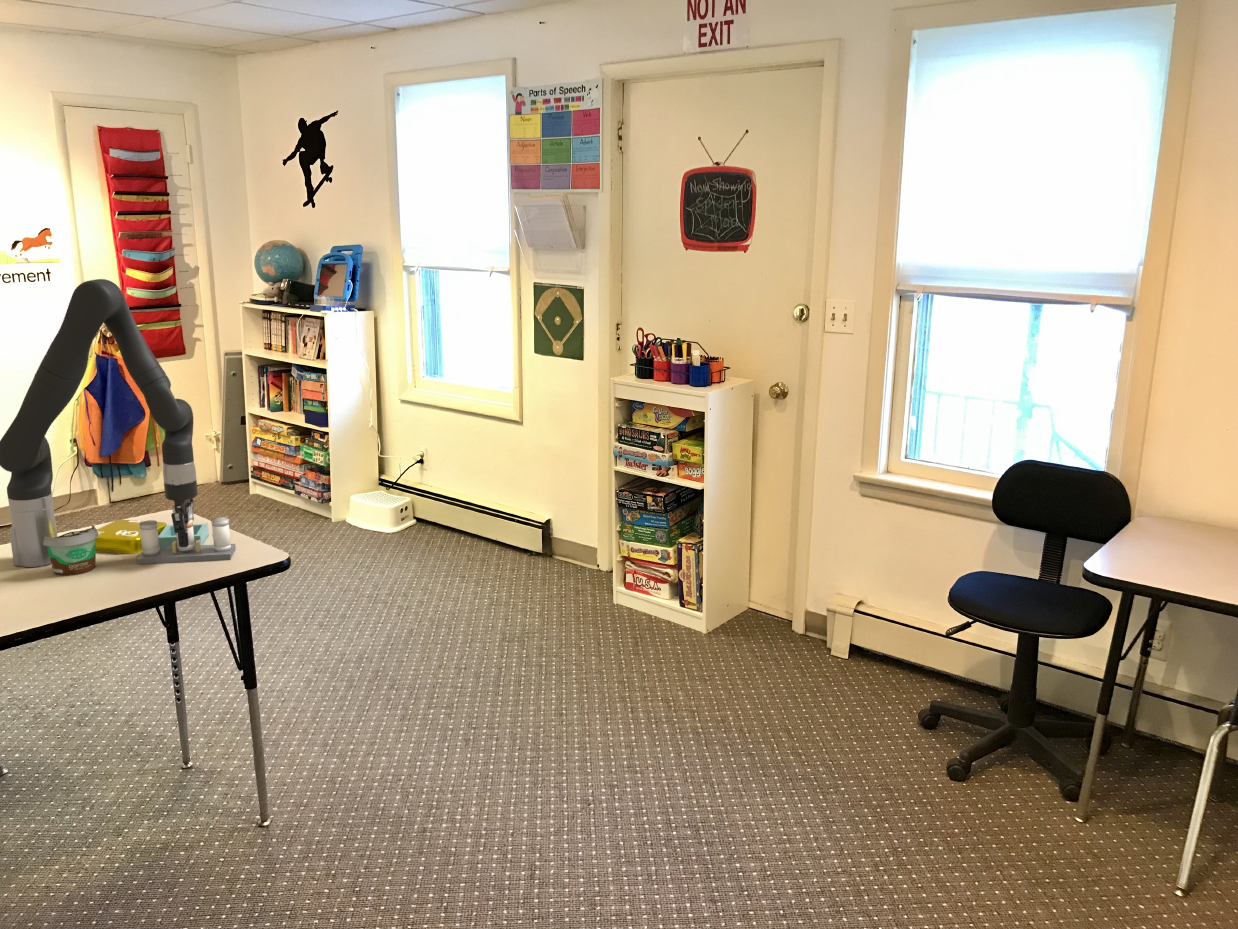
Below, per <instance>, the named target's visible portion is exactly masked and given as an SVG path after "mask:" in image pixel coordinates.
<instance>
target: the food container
mask: <svg viewBox="0 0 1238 929" xmlns="http://www.w3.org/2000/svg"><path fill="white" fill-rule="evenodd" d="M57 536H58V535H57ZM97 537H98V532H97V528H96V527H95V525H94V524H91V527H90V528H87V529H84V530H79V531H78V530H77V531H70V532H67V533H64V534H62V535H59V536H58V537H55V538H52V537H46V536H45V539H44V543H43V545H45V546H47V549H48V553H49V557H50V561H51V564H50V565H51V568H52V572H53V574H54V575H55V576H59V577H68V576H69V577H71V576H78V575H83V574H85V573H86V574H87V573H89V572H91V571H93V570H95V569H96V566H97V563H96V562H97V559H96V555H97V554H96V552H97V551H96V544H95V538H97Z"/></svg>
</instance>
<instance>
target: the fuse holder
mask: <svg viewBox="0 0 1238 929" xmlns="http://www.w3.org/2000/svg"><path fill="white" fill-rule="evenodd" d="M142 521H143V522H140V523H139V528H140V536H141V545H142V552H140V553H139V554H138V556H136V565H148V564H149V565H151V564H167V563H168V564H169V563H170V564H171V563H189V562H190V563H191V562H193V563H194V562H210V561H211V562H212V561H230V560H232V558H233V555H234V554H235V551H236V547H237V546H236V543H231V534H230V519H229V518H228V517H225V516H224V517H223V516H222V517H215V518H213V519H211V529H212V530H211V531H212V540H213V541H212V542H213V544H204V545H201V540H197V541H196V546H195V548H194V549H192V550H188V551H180V550H178V548H177V541H173V543H172V547H159V538H158V528H157V527H158V526H157V522H158V521H157V520H153V519H152V520H151V519H150V520H142Z"/></svg>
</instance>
